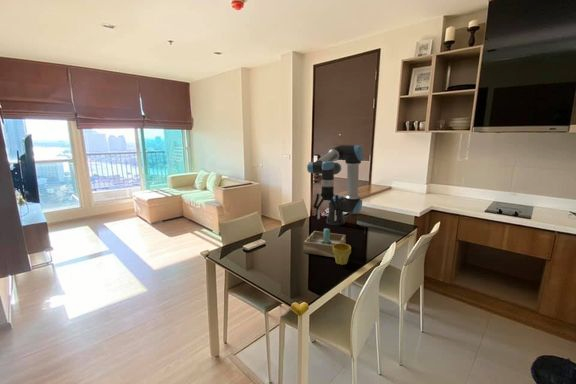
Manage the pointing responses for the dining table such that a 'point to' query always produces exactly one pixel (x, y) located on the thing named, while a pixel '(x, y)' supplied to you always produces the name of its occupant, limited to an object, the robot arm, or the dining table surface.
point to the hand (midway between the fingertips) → (327, 219)
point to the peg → (326, 236)
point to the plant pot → (341, 253)
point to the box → (316, 243)
